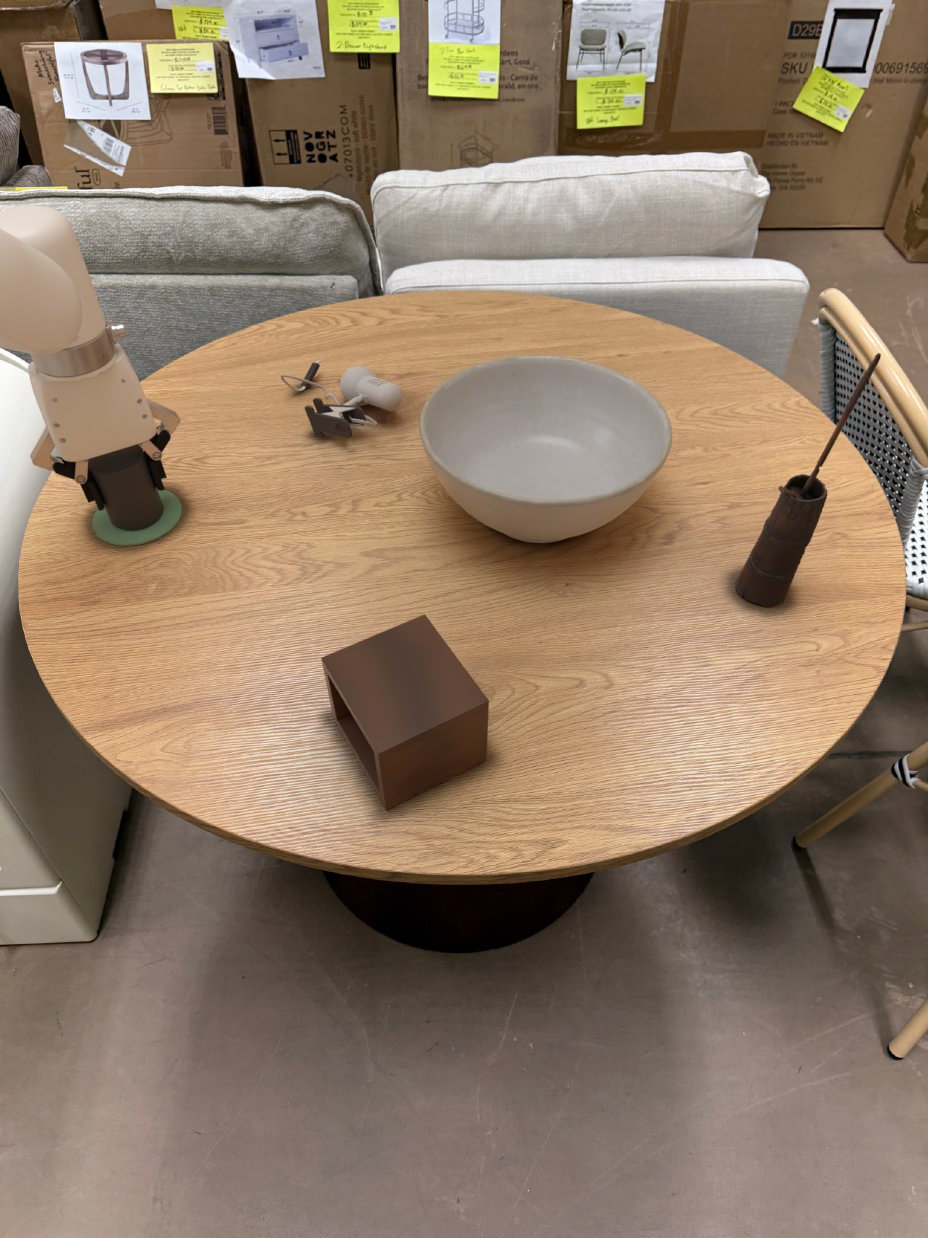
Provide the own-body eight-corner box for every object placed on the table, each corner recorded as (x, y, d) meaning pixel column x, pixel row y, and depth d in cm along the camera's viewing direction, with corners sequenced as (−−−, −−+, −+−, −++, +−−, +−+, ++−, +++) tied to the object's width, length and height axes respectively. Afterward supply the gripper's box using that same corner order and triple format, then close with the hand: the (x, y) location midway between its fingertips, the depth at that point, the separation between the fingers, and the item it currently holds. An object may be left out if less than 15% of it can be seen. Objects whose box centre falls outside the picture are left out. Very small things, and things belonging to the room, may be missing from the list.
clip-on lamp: (273, 419, 112) (348, 453, 101) (255, 377, 108) (331, 407, 97) (339, 380, 117) (418, 407, 105) (325, 338, 113) (404, 362, 101)
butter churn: (716, 626, 83) (801, 385, 62) (700, 561, 89) (772, 323, 69) (806, 628, 83) (922, 387, 62) (784, 562, 89) (881, 324, 68)
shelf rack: (386, 811, 69) (378, 753, 62) (333, 718, 75) (320, 657, 69) (486, 760, 72) (489, 700, 66) (428, 676, 79) (424, 613, 72)
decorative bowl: (482, 419, 107) (484, 334, 98) (680, 475, 100) (702, 388, 91) (381, 543, 91) (372, 455, 82) (607, 622, 83) (624, 534, 74)
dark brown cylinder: (117, 537, 91) (93, 480, 85) (104, 506, 95) (80, 450, 89) (170, 519, 93) (149, 462, 87) (155, 490, 97) (134, 433, 91)
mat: (105, 557, 90) (104, 555, 90) (84, 506, 96) (83, 504, 95) (193, 527, 93) (192, 525, 93) (168, 479, 99) (167, 477, 99)
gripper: (150, 309, 83) (193, 452, 97) (-30, 353, 78) (43, 499, 91) (171, 341, 79) (213, 487, 93) (-17, 391, 73) (57, 539, 87)
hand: (128, 492), depth 92 cm, fingers closed on dark brown cylinder, 6 cm apart
